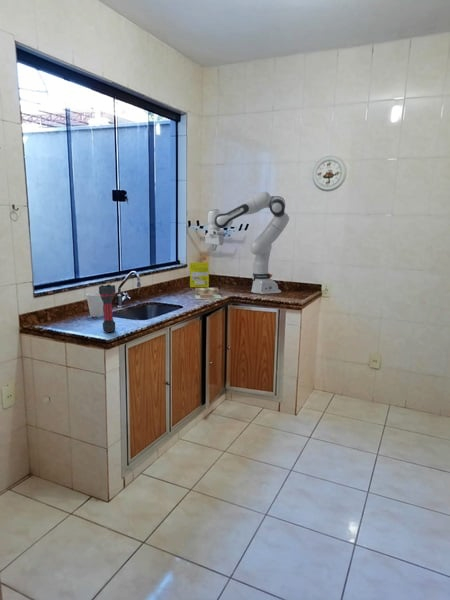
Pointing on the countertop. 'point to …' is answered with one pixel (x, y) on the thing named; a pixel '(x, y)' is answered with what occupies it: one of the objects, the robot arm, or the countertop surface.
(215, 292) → the birch deck
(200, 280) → the food package
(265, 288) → the robot arm
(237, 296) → the countertop surface
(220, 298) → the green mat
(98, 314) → the foam cup
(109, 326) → the flashlight
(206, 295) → the terracotta tile
